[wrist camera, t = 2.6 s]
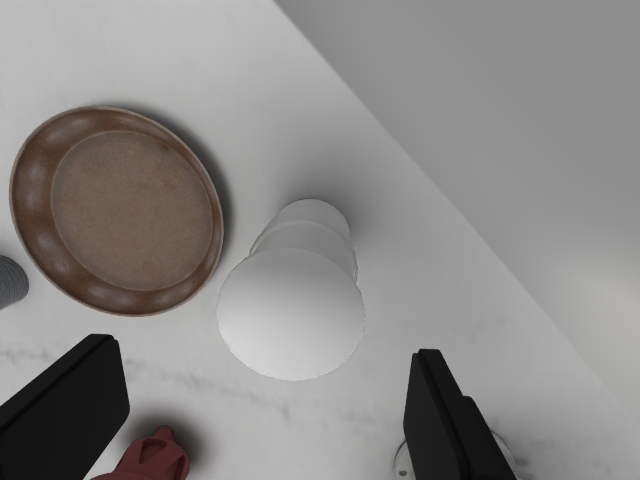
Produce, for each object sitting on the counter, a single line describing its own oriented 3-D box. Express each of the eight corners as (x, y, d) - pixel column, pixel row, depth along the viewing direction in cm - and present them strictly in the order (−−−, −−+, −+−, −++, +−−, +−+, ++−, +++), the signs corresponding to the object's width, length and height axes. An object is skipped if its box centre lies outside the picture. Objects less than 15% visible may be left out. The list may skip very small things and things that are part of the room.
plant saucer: (160, 68, 26) (138, 58, 23) (268, 255, 30) (261, 267, 27) (-1, 170, 29) (-38, 172, 26) (118, 328, 33) (97, 346, 30)
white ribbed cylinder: (366, 227, 29) (399, 310, 14) (317, 282, 30) (302, 405, 16) (306, 177, 28) (276, 212, 13) (258, 237, 29) (186, 325, 15)
